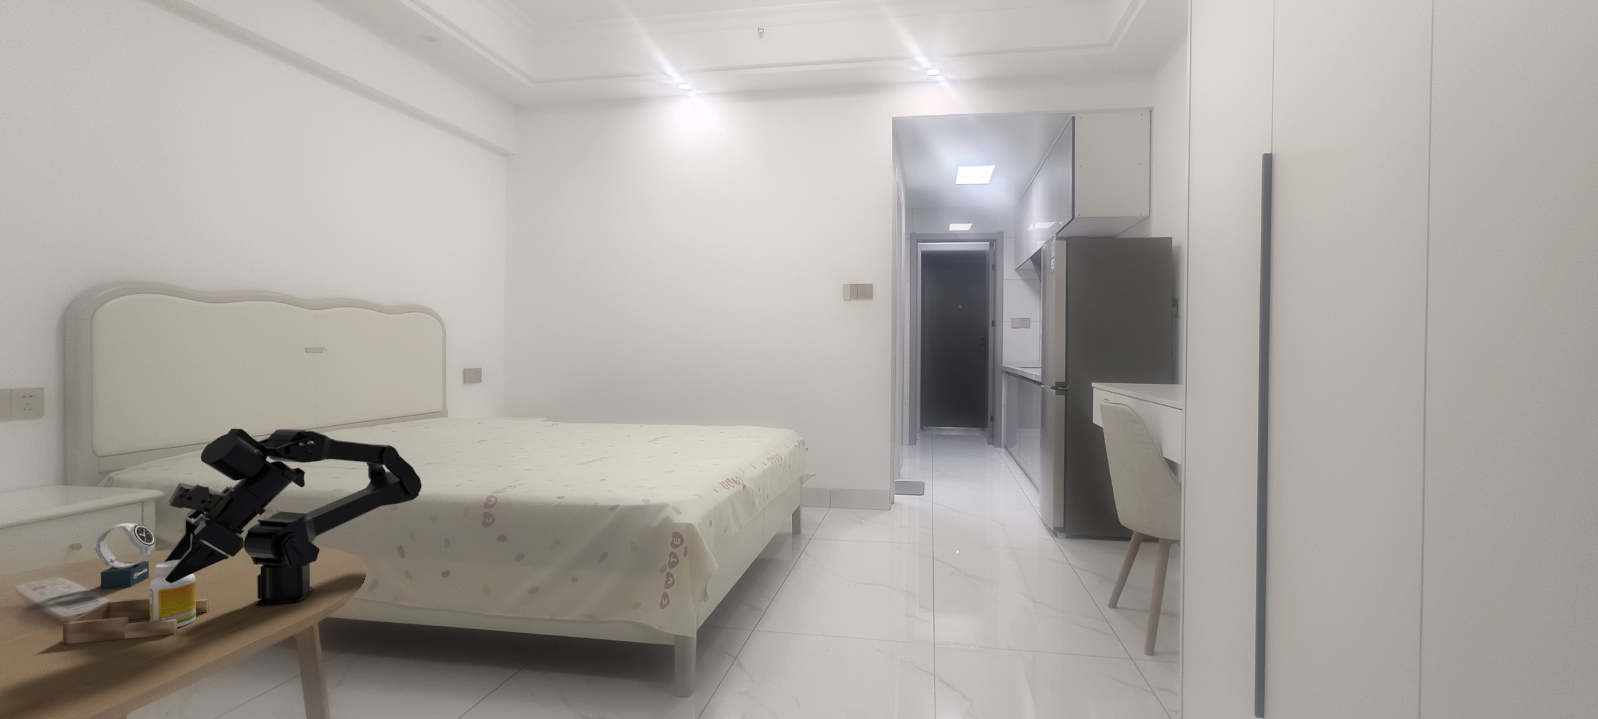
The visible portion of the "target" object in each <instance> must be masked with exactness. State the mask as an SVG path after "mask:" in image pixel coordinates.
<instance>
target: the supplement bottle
mask: <svg viewBox="0 0 1598 719" xmlns="http://www.w3.org/2000/svg"><path fill="white" fill-rule="evenodd" d="M179 561H180V560H172V561H167V562H164V561H163V562H160V563H157V564H156V565H155V566H154V567H155V568H154V570H155V571H154V573H155V576H157V577H155V578H153V579H152V580H151V581H150V582H149V598H150V617H149V621H160V620H172V619H177V628H180V627H183V626H186V625H188V624H191V623H192V622H194V621H195V620H196V618H197V613H196V600H197V596H196V576H195V574H194V573H193V574H190V575H188V576H186V577H184V578H182V579H180V580H178V581H176V582H173V583H169V582H167V581H166V580H165V578H166V577H167V576H168V574H169V573H170V572H171V570H172V569H173V568H174V567H175V566H176V564H177V563H178V562H179Z"/></svg>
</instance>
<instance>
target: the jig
mask: <svg viewBox="0 0 1598 719" xmlns="http://www.w3.org/2000/svg"><path fill="white" fill-rule="evenodd" d="M207 611H208V612H210V599H209V598H201V599H196V614H202V613H201V612H207ZM208 612H207V613H208ZM146 618H147V619H148V618H149V619H150V597H140V598H130V599H129V598H128V599H118V600H117V599H115V600H107V601H105V602H104V603H102V604H100V605H98V606H95V607H93V608H92V609H90V610H88V611H86V612H83V613H82V614H80V615H78V616H76V617H74V618H72V619H70V620H68V621H66V622H65V623H63V624H62V645H71V644H82V643H90V642H91V643H92V642H103V641H112V640H115V641H116V640H125V639H126V640H127V639H134V638H144V637H154V636H156V637H157V636H167V635H174V634H176V633H178V627H177V619H172V620H160V621H150V620H149V621H140V622H138V621H137V622H130V623H129V620H136V619H146ZM64 643H65V644H64ZM66 643H67V644H66Z"/></svg>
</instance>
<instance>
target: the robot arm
mask: <svg viewBox="0 0 1598 719" xmlns="http://www.w3.org/2000/svg"><path fill="white" fill-rule="evenodd" d="M267 458H269V459H270V460H272V461H271V462H270V461H268V460H267ZM326 460H327V461H328V460H333V461H345V462H346V461H347V462H357V463H358V462H359V463H365V464H366V465H367V466H368V467H367V470H368V471H367V474H368V476H367V478H368V479H369V480H370V481H369V483H368V484H367V486H366V487H365V488H363V489H360V490H359V491H355V492H353V493H351V494H348V495H347V496H344V497H341V498H339V499H337V500H335V501H334V500H333V501H332V502H330V503H328V504H325V505H323V506H320V507H319V508H316V509H313V510H311V511H309V512H306V513H304V512H290V511H280V512H277V513H274V514H273V515H271V516H268V517H267V518H263V519H257V523H258V524H254V525H253V526H252V527H250V528H249V529H248V530H247V533H246V535H245V536H244V538H243V536H242V534H243V533H244V532H245V530H244V528H245V527H247V525H248V524H249V523H250V522H252V520H254V518H256V517H257V515H259V516H262V515H263V514H264V513H265V512H267V510H266V509H265V508H266V507H267V506H268V505H270V503H271V502H272V501H273V500H275V499H276V498H277V496H279V495H280V494H281V493H282V492H283V491H284V490H285V489H286V488H288V487H289V485H291V484H292V483H294V484H295V485H297V486H298V487H300V488H304V487H305V486H306V481H305V474H306V472H305V471H304V470H303V469H302V468H300V467H295V468H292V467H290V466H289V465H287V464H286V462H287V463H300V464H301V463H302V464H304V463H314V462H322V461H326ZM200 461H202V463H204V464H205V465H206V466H209V467H210V468H212V469H213V470H215V471H216V472H219V473H220V474H222V475H224V476H225V477H227V478H228V479H230V480H232V481H236V482H237V481H238V482H237V483H236V484H234V486H231V485H230V486H226V487H225V488H224V489H223V490H221V491H217V490H213V489H210V487H209V486H202V485H200V484H198V483H197V484H196V485H192V484H188V483H183V482H179V483H178V484H177V486H176V488H175V490H174V491H173V493H172V495H171V497H170V499H169V500H168V503H169V506H170V507H174V508H177V509H183V508H185V509H189V511H188V512H187V513H186V517H187V518H186V517H185V518H184V519H183V520H184V533H183V535H182V536H181V537H180V539H179V540H178V542H177V543H176V545H175V546H174V547H173V549H172V550H171V551H170V553H169V554H168V556H167V557H166V558H165V560H164V561H163V562H167V561H172V560H180V561H179V562H178V563H177V564H176V566H175V567H174V568H173V569H172V570H171V572H170V573H169V574H168V576H167V577H166V578H165V580H166V581H167V582H169V583H173V582H176V581H178V580H180V579H182V578H184V577H186V576H188V575H190V574H194V573H197V572H199V571H201V570H204V569H206V568H207V567H210V566H212V565H214V564H217V563H219V562H221V561H224V560H227V559H229V558H230V557H232V558H234V557H235V556H236V555H237V554H238V553H239V552H240V551H241V550H242V549H244V551H245V553H246V554H247V555H248V556H250V558H251V561H252V563H253V565H255V566H257V565H258V566H259V565H261V566H260V573H259V574H258V575H257V576H256V584H257V585H256V586H257V587H256V589H257V599H258V600H257V601H256V602H255V606H266V605H267V606H268V605H278V604H291V603H299V602H301V601H302V600H303V599H305V598H306V597H307V596H309V595H310V594H311V593H312V592H313V591H314V590H315V586H311V572H310V571H311V563H314V562H316V561H317V560H318V556H319V553H320V550H321V549H320V547H319V546H317V545H316V544H314V543H313V541H315V539H316V538H317V537H318V536H320V535H322V534H325V533H327V532H329V531H331V530H334V529H335V528H337V527H339V526H341V525H344V524H346V523H349V522H351V521H352V520H355V519H357V518H359V517H361V516H363V515H366V514H367V513H369V512H372V511H374V510H376V509H378V508H381V507H384V506H392V505H399V504H404V503H408V502H410V501H411V502H412V501H414V500H416V499H417V498H418V497H419V495H420V492H421V490H422V486H423V485H422V482H421V477H420V476H419V475H418V474H417V472H416V471H415V469H414V467H413V466H411V464H409V462H407V461H406V460H405V459H404V458H403V457H402V456H400V453H399V452H398V451H397V449H396V447H394V446H392V445H390V444H375V443H373V444H372V443H364V442H354V441H346V440H338V439H334V438H331V437H329V436H327V435H325V434H323V433H321V432H317V431H314V430H311V429H293V428H292V429H288V428H279V429H276V430H274V432H273V433H271V434H270V435H269V437H266V438H264V439H261V440H259V441H258V440H256V439H255V438H254V437H252V436H251V435H249V433H248V432H247V431H245V430H244V429H242V428H235V427H234V428H231V429H230V430H229V431H228V432H227V433H226V434H223V435H220V436H219V437H217V438H216V439H214V440H213V441H212V442H211V443H210V442H209V443H208V444H206V446H205V447H204V449H203V450H202V451H201V454H200ZM384 467H385V468H386V469H385V468H384ZM386 470H387V471H386Z"/></svg>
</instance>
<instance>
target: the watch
mask: <svg viewBox="0 0 1598 719" xmlns="http://www.w3.org/2000/svg"><path fill="white" fill-rule="evenodd" d="M120 528H121V529H122V530H123V531H124V533H126V534H125V535H126V538H127V540H128V542H129V543H130V545H132V546H133V547H134V548H136V549H138V550H139V552H140V553H141V554H142V556H141V557H140V558H139V560H137V561H132V562H131V561H130V562H129V561H128V562H121V561H120V562H119V561H118V559H117V557H116V556H115V555H114V554H113V552H112V551H111V550H110V547H109V544H108V545H107V540H106V538H107V536H108V534H109V533H111V531H113V530H114V529H120ZM156 540H157V539H156V536H155V534H154V532H153V531H152V530H151V529H150V528H149V527H148V526H146V525H144V524H142V523H136V522H135V523H134V522H124V523H123V522H122V523H120V524H117V525H114V526H111V527H109V528H107V529H105V530H103V531H102V532H101V533H100V534H99V535H98V537H97V538H96V541H95V548H94V549H95V553H96V555H97V556H98V558H99V559H100V560H101V562H102V563H103V564H104V565H105V566H107V567H108V566H109V568H107V569H104V570H103V571H101V572H100V590H110V589H111V590H112V589H121V588H131V587H133V586H135V585H137V584H139V583H141V582H143V581H145V580H146V579H149V578H150V571H149V570H150V568H149V567H150V564H149V560H147V559H148V558H149V557H150V556H151V554H152V552H154V549H155V544H156V542H157V541H156Z"/></svg>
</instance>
